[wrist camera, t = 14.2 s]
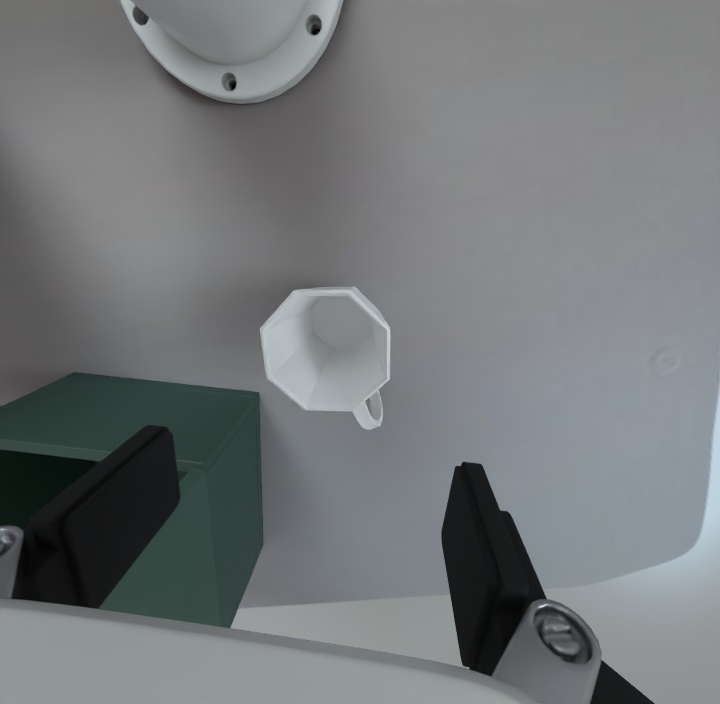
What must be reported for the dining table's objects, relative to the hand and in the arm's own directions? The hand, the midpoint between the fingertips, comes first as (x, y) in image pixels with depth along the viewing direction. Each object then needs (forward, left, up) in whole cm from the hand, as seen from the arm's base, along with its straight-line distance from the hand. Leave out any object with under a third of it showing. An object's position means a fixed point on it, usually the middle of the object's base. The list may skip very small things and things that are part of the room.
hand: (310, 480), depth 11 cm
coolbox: (+14, -15, -15) cm, 25 cm away
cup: (0, 0, -15) cm, 15 cm away
